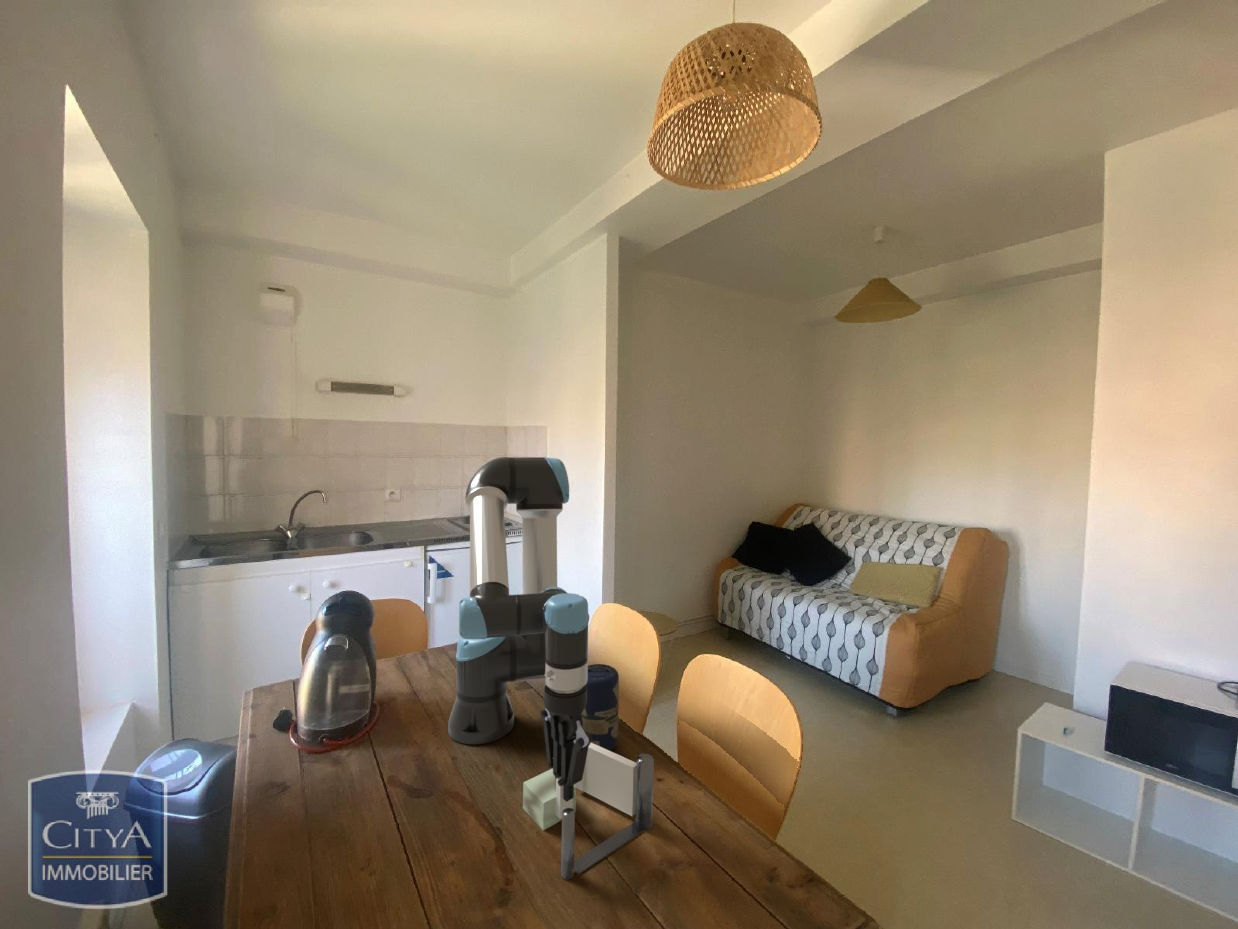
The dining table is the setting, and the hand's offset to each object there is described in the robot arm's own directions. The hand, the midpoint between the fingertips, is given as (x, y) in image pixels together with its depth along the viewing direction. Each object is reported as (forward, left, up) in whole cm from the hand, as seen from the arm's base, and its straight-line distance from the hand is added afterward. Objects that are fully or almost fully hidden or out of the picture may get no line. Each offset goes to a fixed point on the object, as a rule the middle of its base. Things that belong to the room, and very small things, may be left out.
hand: (563, 813), depth 89 cm
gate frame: (+9, +3, -2) cm, 10 cm away
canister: (-15, +19, -2) cm, 24 cm away
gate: (+1, +9, -1) cm, 9 cm away
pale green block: (-4, 0, -2) cm, 5 cm away
